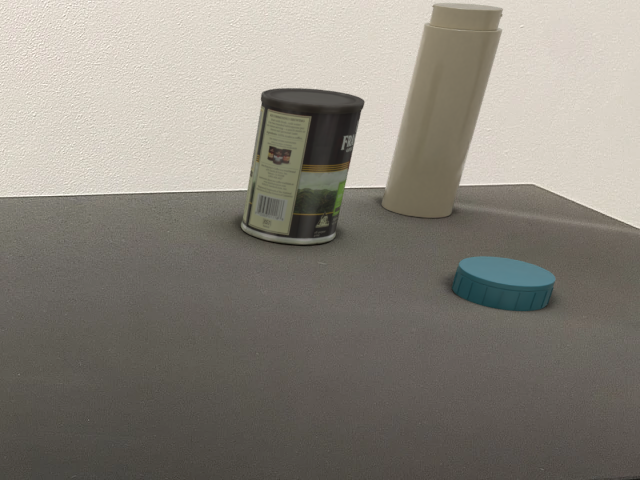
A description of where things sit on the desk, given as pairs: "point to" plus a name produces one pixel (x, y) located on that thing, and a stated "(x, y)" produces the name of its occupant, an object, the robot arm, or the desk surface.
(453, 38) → the jar
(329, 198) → the coffee can
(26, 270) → the desk surface
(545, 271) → the lid
